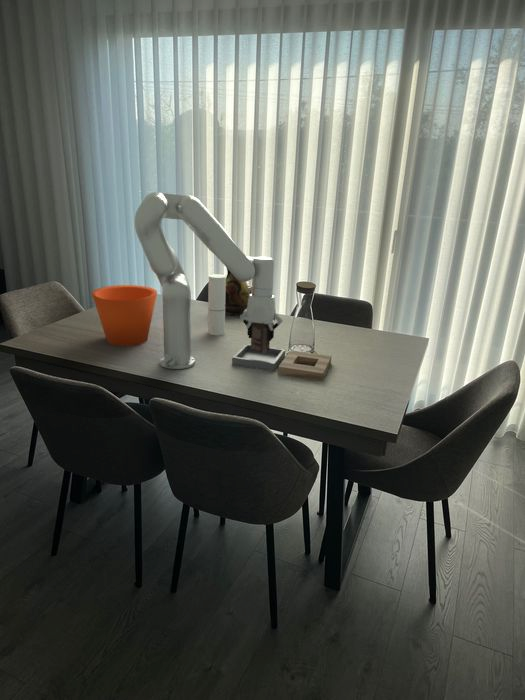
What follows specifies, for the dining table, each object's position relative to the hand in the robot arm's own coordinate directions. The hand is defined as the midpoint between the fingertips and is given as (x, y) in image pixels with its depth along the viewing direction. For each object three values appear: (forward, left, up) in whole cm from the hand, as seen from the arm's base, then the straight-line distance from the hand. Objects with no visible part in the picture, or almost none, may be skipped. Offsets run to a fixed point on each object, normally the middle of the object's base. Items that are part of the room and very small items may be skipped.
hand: (260, 338), depth 190 cm
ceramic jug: (+58, +31, -9) cm, 66 cm away
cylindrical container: (+25, +27, -9) cm, 38 cm away
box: (0, 0, -5) cm, 5 cm away
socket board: (-1, -18, -9) cm, 20 cm away
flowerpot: (+2, +57, -9) cm, 58 cm away
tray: (0, 0, -9) cm, 9 cm away
